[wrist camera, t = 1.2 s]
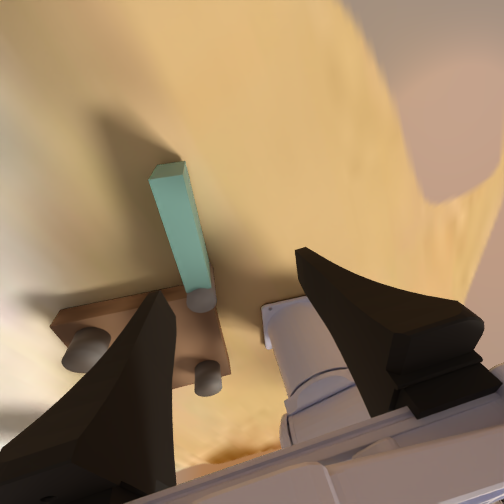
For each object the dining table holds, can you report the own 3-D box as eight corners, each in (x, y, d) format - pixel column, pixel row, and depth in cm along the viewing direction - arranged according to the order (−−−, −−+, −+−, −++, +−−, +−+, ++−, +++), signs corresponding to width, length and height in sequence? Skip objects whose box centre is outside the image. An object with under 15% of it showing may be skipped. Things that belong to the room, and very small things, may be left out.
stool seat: (208, 279, 24) (211, 312, 20) (229, 359, 31) (233, 394, 28) (60, 309, 22) (33, 351, 18) (120, 386, 30) (109, 427, 26)
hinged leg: (215, 277, 23) (218, 309, 20) (191, 282, 23) (190, 315, 20) (187, 160, 17) (186, 175, 14) (154, 164, 17) (143, 181, 13)
